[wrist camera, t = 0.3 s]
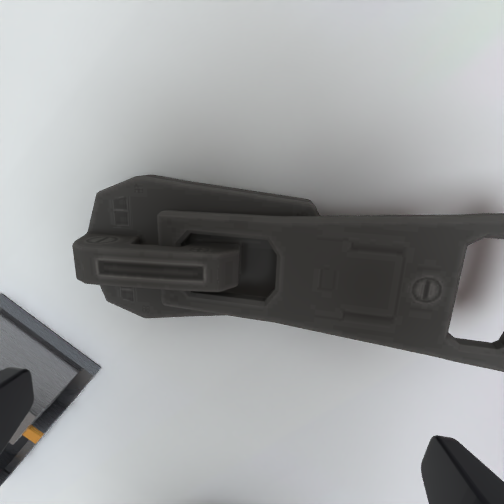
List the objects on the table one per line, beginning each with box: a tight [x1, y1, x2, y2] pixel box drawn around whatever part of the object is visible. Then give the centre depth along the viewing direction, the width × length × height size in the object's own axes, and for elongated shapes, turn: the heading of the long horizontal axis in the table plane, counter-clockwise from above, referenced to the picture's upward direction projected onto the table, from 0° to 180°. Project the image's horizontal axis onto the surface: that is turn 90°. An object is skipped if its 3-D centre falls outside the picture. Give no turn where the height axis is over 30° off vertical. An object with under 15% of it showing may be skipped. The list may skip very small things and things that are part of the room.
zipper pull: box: [73, 175, 504, 372], centre depth 18 cm, size 9×7×25 cm
